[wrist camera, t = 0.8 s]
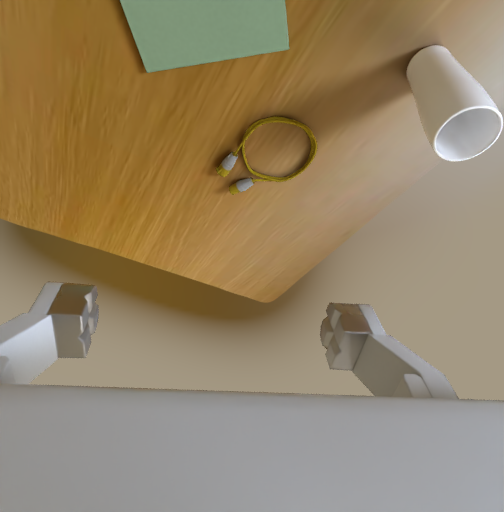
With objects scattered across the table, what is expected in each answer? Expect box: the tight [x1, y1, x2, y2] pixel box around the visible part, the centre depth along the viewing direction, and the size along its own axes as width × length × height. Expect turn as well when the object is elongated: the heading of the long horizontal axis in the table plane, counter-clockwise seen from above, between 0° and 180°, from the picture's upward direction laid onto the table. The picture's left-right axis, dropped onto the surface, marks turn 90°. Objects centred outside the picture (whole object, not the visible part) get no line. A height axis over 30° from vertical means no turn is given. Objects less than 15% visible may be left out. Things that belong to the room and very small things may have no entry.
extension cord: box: [216, 117, 317, 195], centre depth 59 cm, size 12×16×2 cm
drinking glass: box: [407, 45, 503, 161], centre depth 45 cm, size 7×7×15 cm
